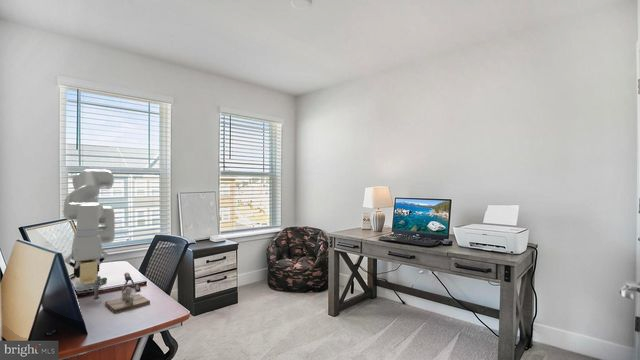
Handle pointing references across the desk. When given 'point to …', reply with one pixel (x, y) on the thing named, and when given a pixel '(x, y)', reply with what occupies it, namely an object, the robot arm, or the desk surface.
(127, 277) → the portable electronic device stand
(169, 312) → the desk surface
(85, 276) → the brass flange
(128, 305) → the post dock
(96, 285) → the mechanical component
